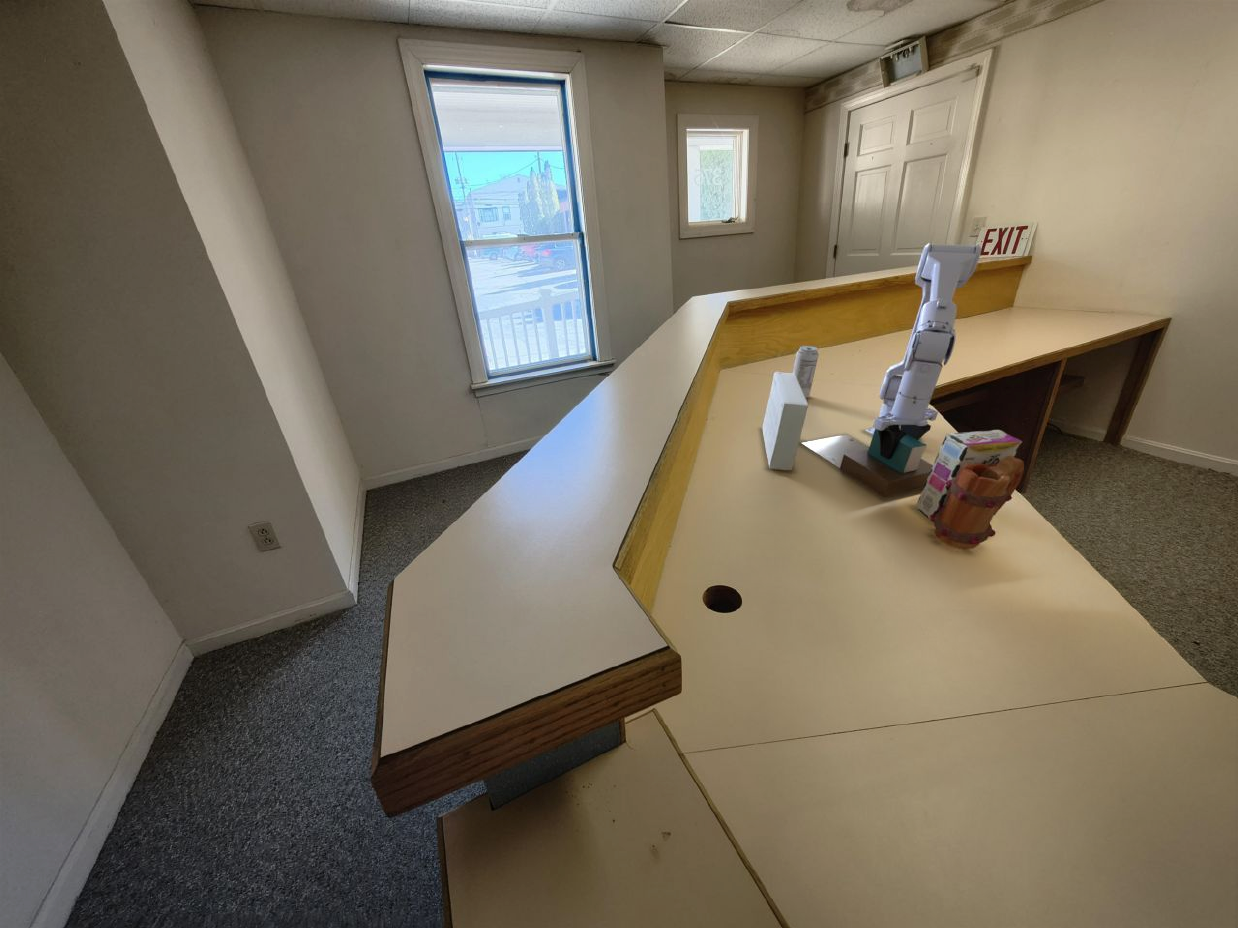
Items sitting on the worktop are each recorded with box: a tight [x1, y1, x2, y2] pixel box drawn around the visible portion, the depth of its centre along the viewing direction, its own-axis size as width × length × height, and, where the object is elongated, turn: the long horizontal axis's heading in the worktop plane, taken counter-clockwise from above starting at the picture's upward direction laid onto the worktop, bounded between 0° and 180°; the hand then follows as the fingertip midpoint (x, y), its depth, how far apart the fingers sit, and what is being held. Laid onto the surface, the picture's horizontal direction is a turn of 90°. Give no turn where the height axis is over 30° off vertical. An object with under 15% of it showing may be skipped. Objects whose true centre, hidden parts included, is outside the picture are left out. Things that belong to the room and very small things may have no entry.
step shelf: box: [801, 433, 934, 498], centre depth 102 cm, size 14×25×4 cm, turn 19°
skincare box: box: [761, 371, 809, 471], centre depth 105 cm, size 21×6×16 cm, turn 168°
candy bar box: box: [914, 429, 1023, 522], centre depth 83 cm, size 11×5×16 cm, turn 100°
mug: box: [930, 456, 1025, 551], centre depth 77 cm, size 15×8×15 cm, turn 114°
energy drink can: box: [792, 345, 820, 400], centre depth 134 cm, size 6×6×15 cm
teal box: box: [868, 429, 927, 473], centre depth 94 cm, size 4×9×6 cm, turn 20°
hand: (893, 455), depth 95 cm, fingers closed on teal box, 4 cm apart
